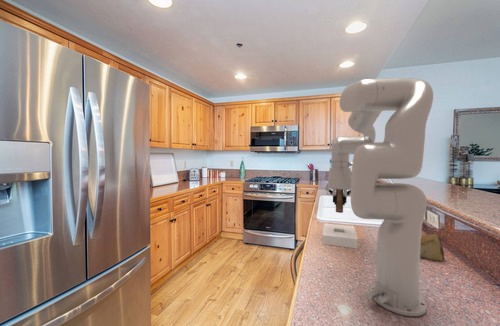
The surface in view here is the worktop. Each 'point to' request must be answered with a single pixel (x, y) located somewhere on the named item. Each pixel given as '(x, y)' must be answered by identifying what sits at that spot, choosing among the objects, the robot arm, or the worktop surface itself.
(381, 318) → the worktop surface
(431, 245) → the rock
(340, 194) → the peg
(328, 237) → the hole block
